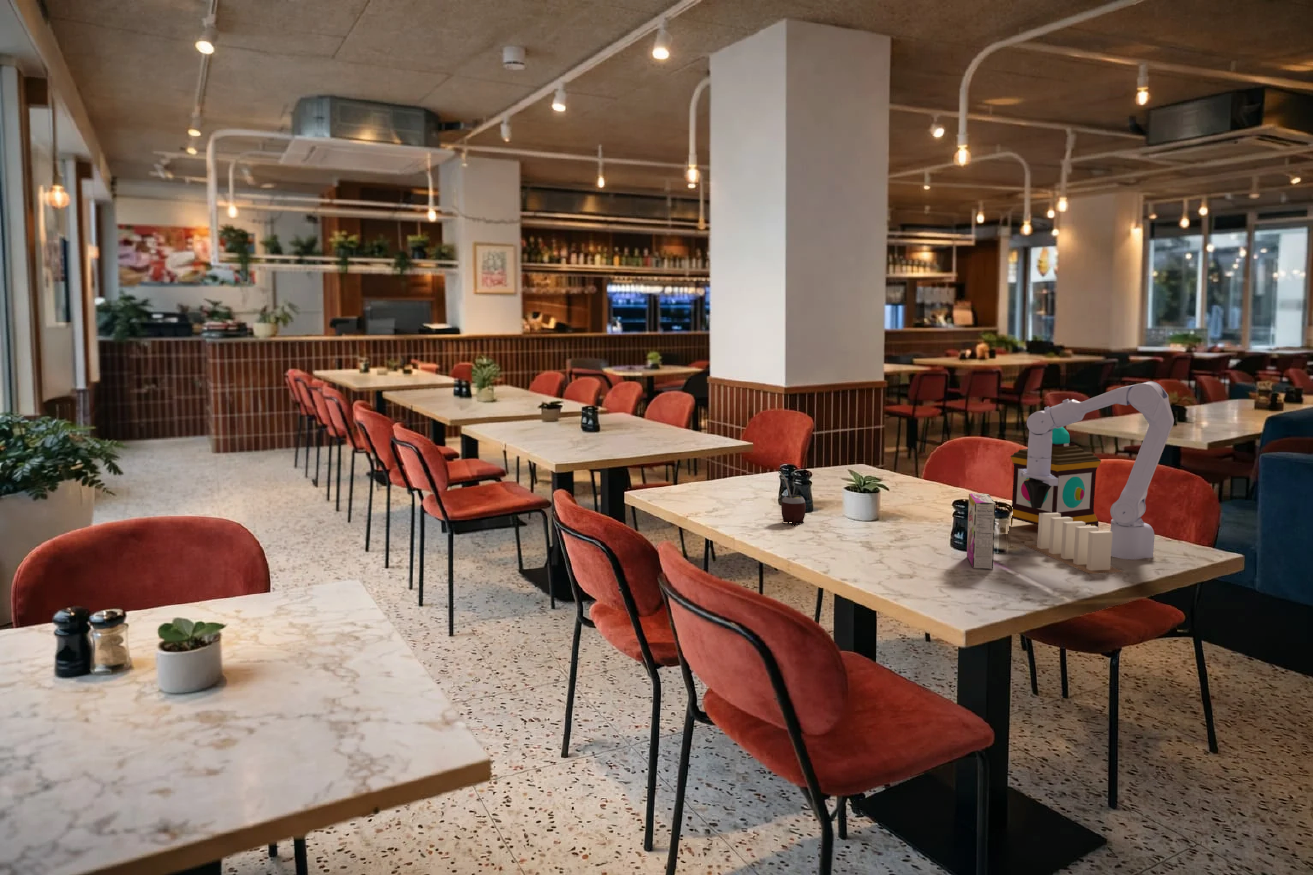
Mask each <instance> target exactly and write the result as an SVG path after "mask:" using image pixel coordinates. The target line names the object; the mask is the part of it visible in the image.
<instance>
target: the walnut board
mask: <svg viewBox="0 0 1313 875" xmlns="http://www.w3.org/2000/svg"><path fill="white" fill-rule="evenodd" d="M1025 547H1027V548H1030V549H1031V550H1034V551H1037V552H1039V553H1041V554H1043V555H1045V556H1048V557H1050V558H1053V559H1055V560H1057V561H1059V562H1061V563H1064V564H1066V565H1067V566H1070V567H1073V568H1075V569H1077V570H1078V571H1081V572H1084V573H1086V574H1088V575H1092V574H1095V575H1096V574H1111V573H1112V574H1113V573H1124V571H1123V570H1121V569H1118V568H1116V567H1114V566H1111V565H1110V570H1092V571H1090V570H1088V569H1086V566H1087V564H1083V565H1077V564H1074V563H1073V559H1063V558H1061V554H1051V553H1049V549H1040V548H1038V547H1037V544H1030V545H1029V544H1028V545H1027V544H1026V545H1025Z"/></svg>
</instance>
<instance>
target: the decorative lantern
mask: <svg viewBox="0 0 1313 875" xmlns="http://www.w3.org/2000/svg"><path fill="white" fill-rule="evenodd" d="M1070 439H1071V438H1070V434H1069V432H1068V430H1067V429H1066V428H1065V427H1064V426H1063V427H1060V428H1054V429H1053V430H1052V453H1051V470H1050V474H1051V475H1053V476H1054V477H1056V478H1058V486H1051V488H1050V489H1049V491H1048V492H1047V494H1046V496H1045V499H1044V502H1043V505H1042V507H1041V508H1036V509H1034V508H1032V507H1031V503H1030V498H1029V494H1028V491H1027V488H1026V486H1025V485H1024V481H1028V480H1029V478H1027V477H1024V476H1023V477H1021V476H1019V469H1027V457H1028V448H1023V449H1022V448H1021V449H1019V450H1018V451H1015V452H1013V454H1011V455H1010V460H1011V462H1012V465H1013V476H1012V477H1013V478H1012V497H1011V506H1012V507H1013V515H1012V518H1011V526H1012V525H1013V522H1014V520H1016V521H1021V522H1025V523H1029V524H1032V525H1036V526H1038V524H1039V513H1060V514H1061V517H1071V518H1073V522H1074V521H1082V522H1085V526H1096V527H1099V525H1100V524H1099V520H1098V518H1097V516H1096V513H1095V509H1094V508H1095V507H1094V506H1095V493H1096V480H1097V476H1096V475H1097V469H1098V468H1099V467H1100V464H1101V462H1102V460H1101V459H1100V458H1099V457H1098V456H1097V455H1094V453H1092V452H1090V451H1085V450H1084V449H1082V448H1080V447H1079V445H1076V443H1075V441H1074V442H1073V441H1070ZM1011 526H1010V527H1011Z"/></svg>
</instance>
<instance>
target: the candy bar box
mask: <svg viewBox="0 0 1313 875" xmlns="http://www.w3.org/2000/svg"><path fill="white" fill-rule="evenodd" d="M996 505H997V504H996V502H995V501H994V500H993V498H992V497H991V496H990V494H989V493H975V492H974V493H973V492H972V493H968V506H967V507H968V508H967V510H968V511H967V514H968V515H967V540H966V542H967V543H966V558H967V560H968V561H969V563H970V565H971V568H972V569H975V570H994V557H995V535H996V534H995V530H996V529H995V528H996V527H995V526H996Z"/></svg>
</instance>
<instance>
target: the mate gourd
mask: <svg viewBox="0 0 1313 875" xmlns="http://www.w3.org/2000/svg"><path fill="white" fill-rule="evenodd" d="M777 473H778V474H779V475H781V477H782V478H783V480H784V481H783V482H785V485H786V486H785V487H786V489H787V494H788V495H784V497H783V498H782V499H781V505H780V508H781V518H782V520H783V521H782V522H792V523H793V525H796V526H797V524H796V523H804V524H805V521H804V520H805V517H806V509H807V504H806V500H805V498H804V497H803V496H801V495H799V494H791V491H790V486H789V484H788V479H787V478H786V476H785V474H783V473H782V472H781V471H779V470H778V471H777ZM793 525H792V526H793Z"/></svg>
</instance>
